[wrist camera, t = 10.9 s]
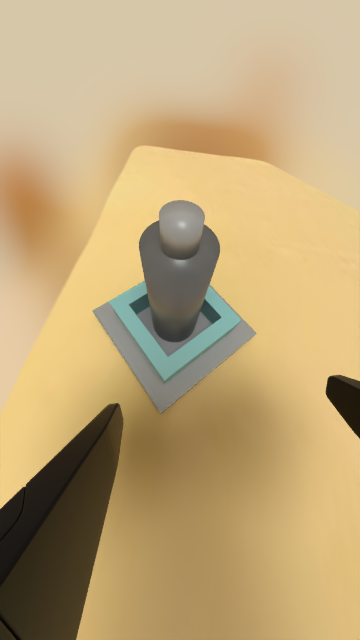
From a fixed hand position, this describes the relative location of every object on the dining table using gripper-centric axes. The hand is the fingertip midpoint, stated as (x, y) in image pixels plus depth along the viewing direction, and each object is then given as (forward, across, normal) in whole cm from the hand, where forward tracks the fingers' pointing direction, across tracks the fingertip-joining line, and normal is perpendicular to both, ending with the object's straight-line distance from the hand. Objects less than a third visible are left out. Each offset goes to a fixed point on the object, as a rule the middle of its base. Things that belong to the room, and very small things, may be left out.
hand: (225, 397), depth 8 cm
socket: (+16, +2, +2) cm, 16 cm away
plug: (+15, +2, +1) cm, 15 cm away
